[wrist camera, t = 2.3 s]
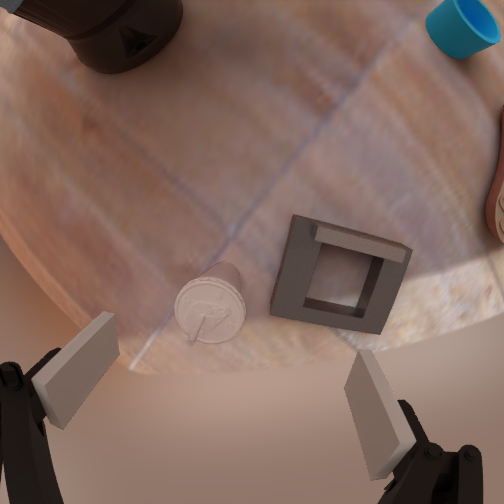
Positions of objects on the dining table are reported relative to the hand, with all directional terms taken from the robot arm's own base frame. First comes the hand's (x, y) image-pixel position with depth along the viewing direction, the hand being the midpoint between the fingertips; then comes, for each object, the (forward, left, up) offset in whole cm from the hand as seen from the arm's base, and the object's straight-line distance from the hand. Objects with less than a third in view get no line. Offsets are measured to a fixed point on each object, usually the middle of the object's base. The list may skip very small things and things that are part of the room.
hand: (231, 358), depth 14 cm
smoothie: (-3, -3, -20) cm, 20 cm away
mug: (+20, +40, -20) cm, 49 cm away
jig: (+10, 0, -20) cm, 22 cm away
